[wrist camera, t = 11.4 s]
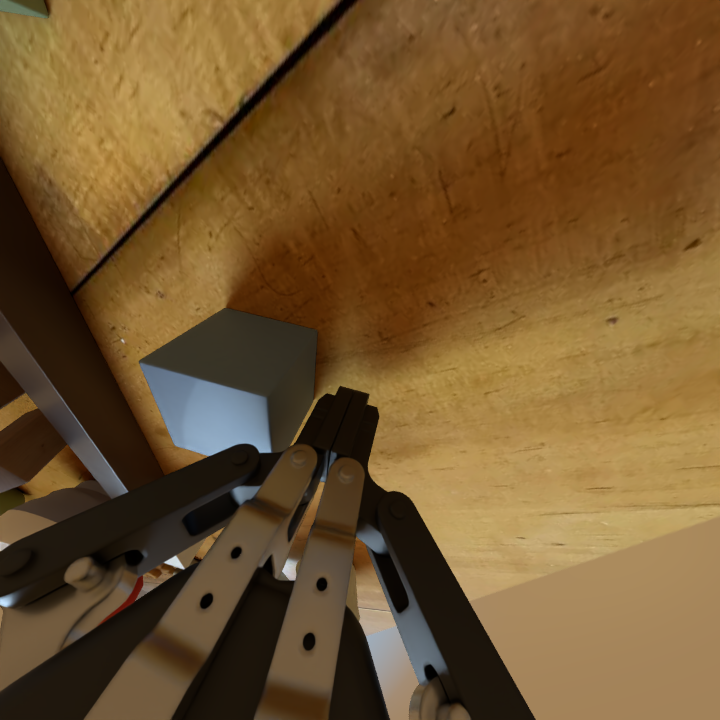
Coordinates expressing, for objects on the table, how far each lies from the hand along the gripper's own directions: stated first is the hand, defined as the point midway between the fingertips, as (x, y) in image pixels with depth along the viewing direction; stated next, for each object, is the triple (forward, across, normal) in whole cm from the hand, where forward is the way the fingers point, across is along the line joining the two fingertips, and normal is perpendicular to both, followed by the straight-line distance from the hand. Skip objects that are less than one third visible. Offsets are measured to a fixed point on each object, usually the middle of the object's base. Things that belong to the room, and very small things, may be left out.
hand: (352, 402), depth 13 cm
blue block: (+2, +5, 0) cm, 5 cm away
